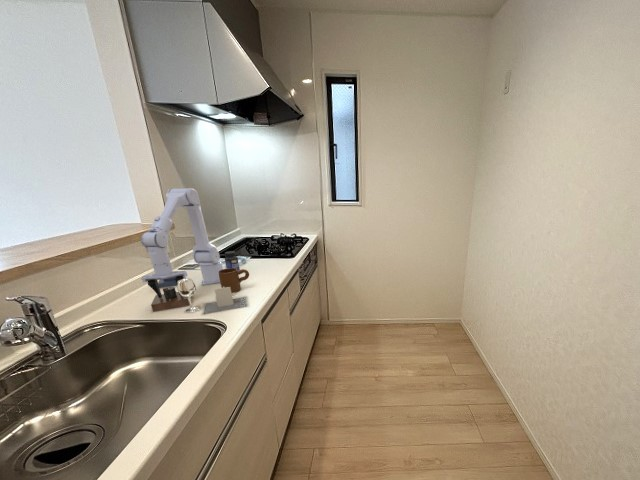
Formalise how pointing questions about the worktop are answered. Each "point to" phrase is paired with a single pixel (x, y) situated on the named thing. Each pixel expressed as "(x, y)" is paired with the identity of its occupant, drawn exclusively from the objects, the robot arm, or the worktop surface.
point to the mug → (232, 278)
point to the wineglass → (187, 291)
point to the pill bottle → (231, 260)
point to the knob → (169, 292)
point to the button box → (167, 282)
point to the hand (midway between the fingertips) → (170, 295)
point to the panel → (169, 302)
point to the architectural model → (224, 301)
